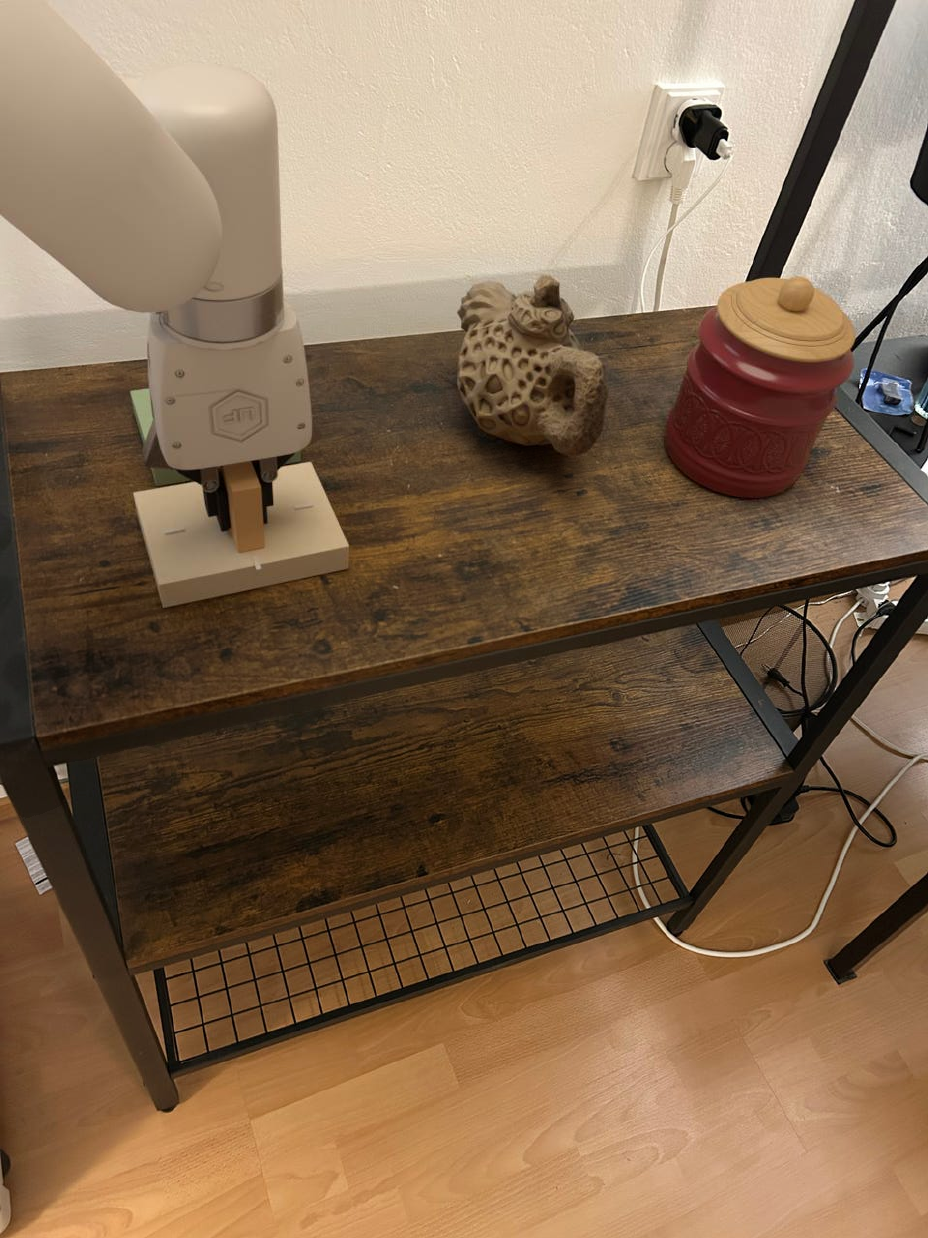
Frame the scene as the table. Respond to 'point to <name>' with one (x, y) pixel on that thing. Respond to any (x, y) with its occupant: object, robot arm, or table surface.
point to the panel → (208, 558)
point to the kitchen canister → (759, 386)
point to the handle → (244, 505)
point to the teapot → (529, 368)
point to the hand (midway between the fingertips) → (240, 513)
